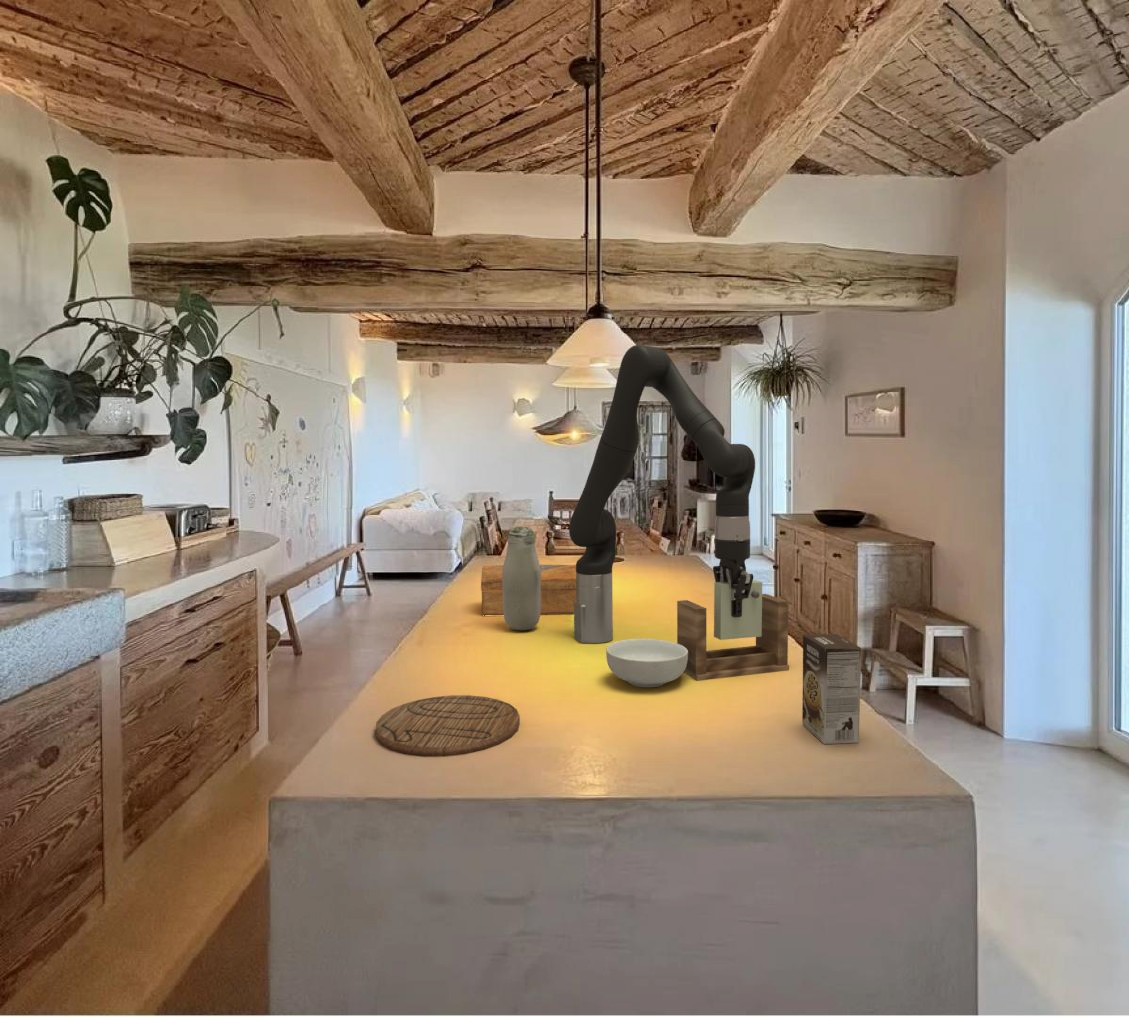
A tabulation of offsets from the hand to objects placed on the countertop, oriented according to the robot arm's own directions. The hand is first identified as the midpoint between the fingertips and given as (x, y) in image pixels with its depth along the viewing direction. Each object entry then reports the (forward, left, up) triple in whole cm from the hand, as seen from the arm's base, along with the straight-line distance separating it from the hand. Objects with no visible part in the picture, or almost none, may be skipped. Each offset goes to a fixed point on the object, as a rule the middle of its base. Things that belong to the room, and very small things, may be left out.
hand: (732, 614), depth 162 cm
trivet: (-64, -14, -13) cm, 67 cm away
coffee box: (-3, -38, -12) cm, 40 cm away
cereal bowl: (-21, -2, -12) cm, 24 cm away
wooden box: (-26, +72, -12) cm, 78 cm away
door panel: (+1, 0, -5) cm, 5 cm away
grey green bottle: (-35, +50, -12) cm, 62 cm away
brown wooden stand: (0, 0, -12) cm, 12 cm away
